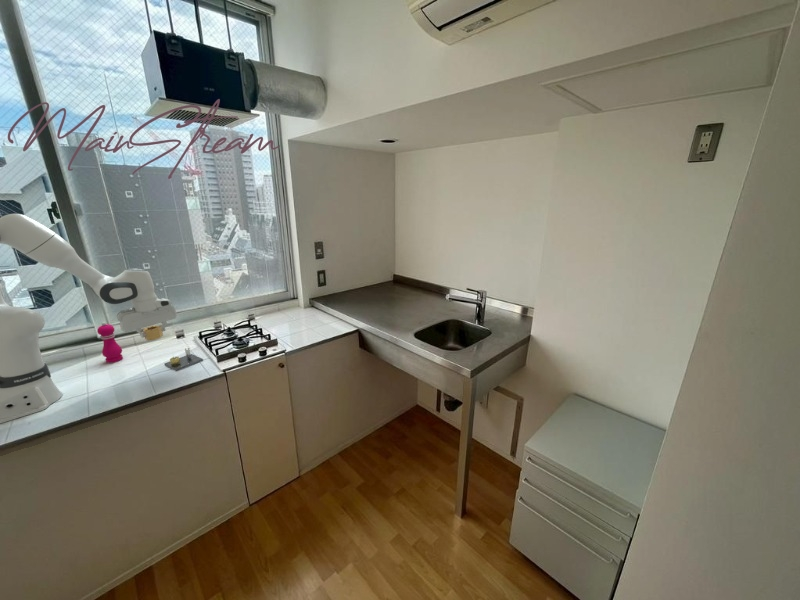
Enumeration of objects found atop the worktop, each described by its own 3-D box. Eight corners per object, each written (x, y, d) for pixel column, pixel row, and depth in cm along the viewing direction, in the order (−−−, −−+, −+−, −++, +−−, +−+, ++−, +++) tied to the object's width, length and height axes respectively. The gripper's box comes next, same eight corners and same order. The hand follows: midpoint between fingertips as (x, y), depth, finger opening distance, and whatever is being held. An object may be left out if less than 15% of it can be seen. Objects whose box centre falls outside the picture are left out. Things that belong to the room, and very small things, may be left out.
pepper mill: (112, 364, 151) (101, 325, 145) (100, 362, 152) (89, 324, 147) (128, 357, 158) (117, 319, 152) (116, 356, 159) (105, 318, 153)
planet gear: (149, 341, 137) (146, 331, 136) (143, 338, 140) (140, 329, 139) (165, 336, 142) (162, 327, 141) (158, 333, 145) (156, 324, 144)
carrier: (176, 371, 144) (173, 358, 142) (164, 365, 150) (161, 352, 148) (203, 360, 154) (200, 348, 152) (191, 355, 159) (188, 343, 158)
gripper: (118, 313, 126) (128, 344, 131) (174, 299, 143) (181, 327, 147) (112, 310, 130) (122, 341, 134) (168, 297, 146) (174, 325, 150)
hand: (153, 334), depth 141 cm, fingers closed on planet gear, 6 cm apart
